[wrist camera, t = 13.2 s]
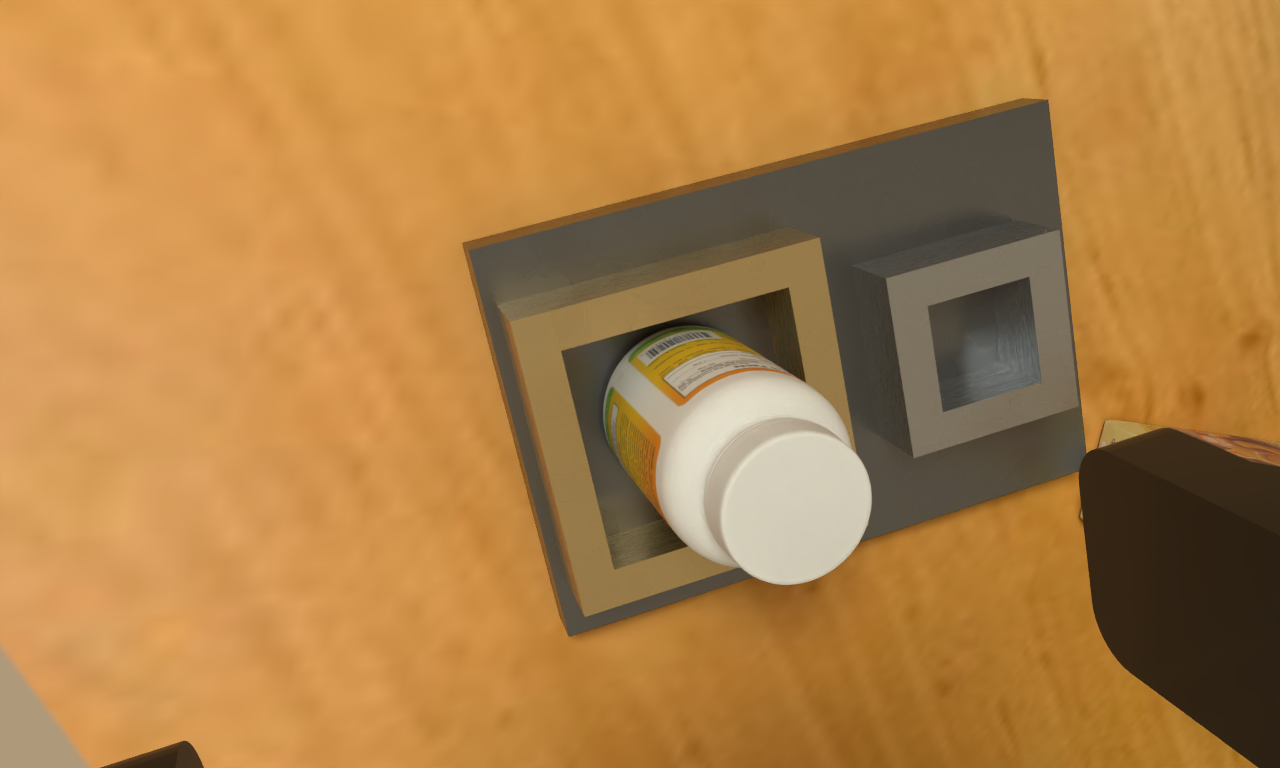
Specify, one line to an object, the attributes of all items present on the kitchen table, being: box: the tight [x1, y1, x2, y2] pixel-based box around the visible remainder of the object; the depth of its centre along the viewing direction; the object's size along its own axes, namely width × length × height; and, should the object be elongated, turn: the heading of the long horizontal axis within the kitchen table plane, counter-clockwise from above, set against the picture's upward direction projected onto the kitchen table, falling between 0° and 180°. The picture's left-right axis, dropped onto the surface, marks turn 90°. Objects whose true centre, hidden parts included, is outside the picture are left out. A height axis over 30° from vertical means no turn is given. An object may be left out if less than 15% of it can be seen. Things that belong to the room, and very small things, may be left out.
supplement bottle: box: [603, 326, 872, 585], centre depth 34 cm, size 5×5×10 cm
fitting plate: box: [462, 98, 1086, 637], centre depth 39 cm, size 19×13×4 cm
